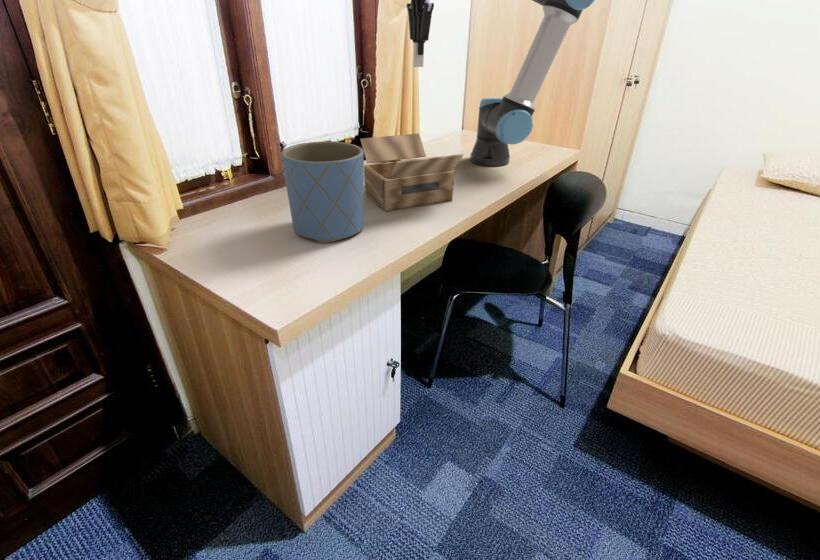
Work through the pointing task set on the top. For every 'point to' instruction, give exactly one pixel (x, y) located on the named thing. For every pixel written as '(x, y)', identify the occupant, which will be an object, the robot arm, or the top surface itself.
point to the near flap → (425, 166)
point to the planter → (325, 189)
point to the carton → (406, 187)
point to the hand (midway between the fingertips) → (418, 66)
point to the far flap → (392, 148)
